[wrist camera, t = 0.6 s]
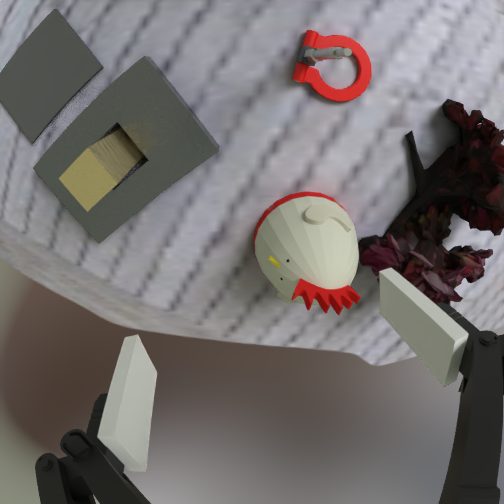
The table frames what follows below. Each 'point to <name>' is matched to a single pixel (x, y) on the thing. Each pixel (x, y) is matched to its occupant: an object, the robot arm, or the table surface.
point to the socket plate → (143, 135)
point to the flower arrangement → (446, 211)
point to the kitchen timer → (309, 250)
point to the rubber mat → (45, 74)
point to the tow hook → (328, 49)
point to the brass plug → (101, 168)
